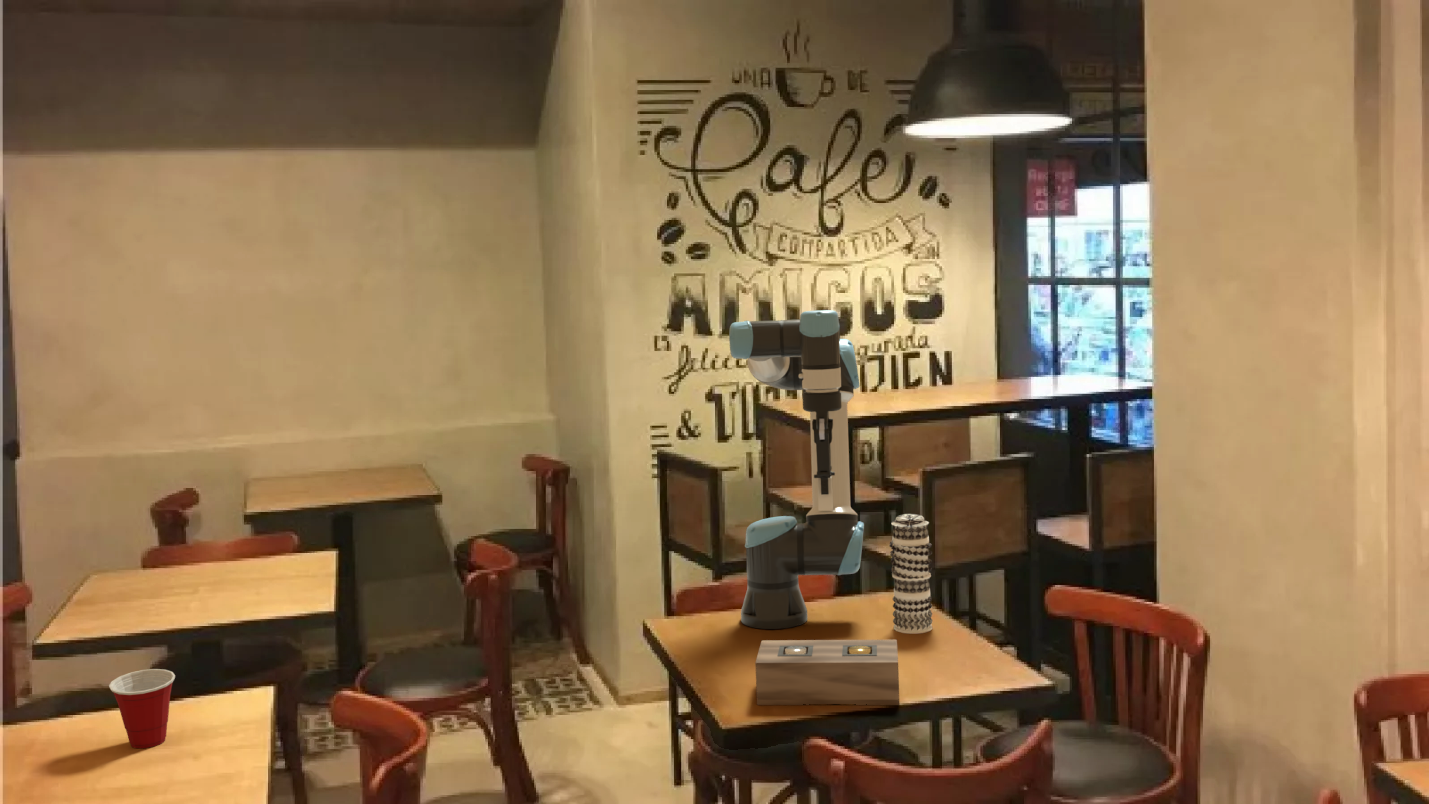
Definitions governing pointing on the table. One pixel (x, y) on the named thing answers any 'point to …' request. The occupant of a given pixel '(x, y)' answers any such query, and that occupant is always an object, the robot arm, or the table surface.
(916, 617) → the white patterned cylinder
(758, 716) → the table surface
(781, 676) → the walnut block
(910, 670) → the table surface
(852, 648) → the brass peg
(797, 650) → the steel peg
